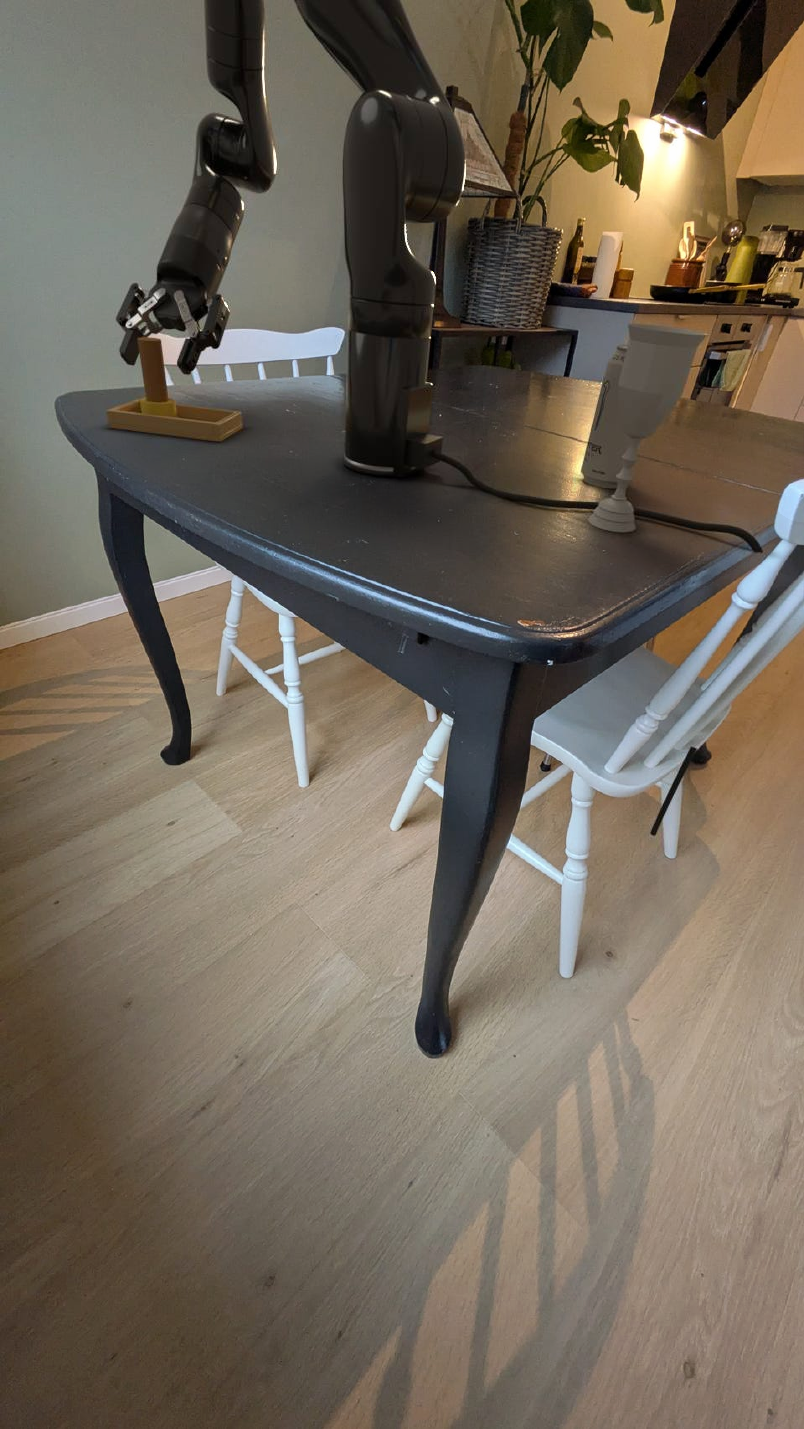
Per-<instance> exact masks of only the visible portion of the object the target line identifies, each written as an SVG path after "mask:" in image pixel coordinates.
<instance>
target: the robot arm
mask: <svg viewBox="0 0 804 1429" xmlns="http://www.w3.org/2000/svg"><path fill="white" fill-rule="evenodd" d="M293 2H294V4H295V7H296V9H297V11H298V14H299V15H300V17H301V19H302V21H303V23H304V24H305V26H306V28H307V30H308V31H309V32H310V34H311V35H312V37H314V39H315V40H316V42H317V43H318V45H320V47H321V48H322V49H323V51H324V52H325V53H326V54H327V55H328V57H329V58H330V59H331V60H332V61H333V62H334V64H336V66H337V67H338V68H339V69H340V70H341V71H342V73H343V74H344V75H345V76H346V77H347V78H348V80H350V82H352V84H353V85H354V86H355V87H356V89H357V90H358V91H359V92H360V93H361V94H360V96H358V98H357V99H356V101H355V102H354V104H353V106H352V109H351V110H350V114H349V116H348V120H347V123H346V127H345V131H344V139H343V147H342V163H341V164H342V166H341V168H342V170H341V171H342V176H341V179H342V180H341V181H342V214H343V215H342V216H343V217H342V221H343V255H344V256H343V258H344V265H345V269H346V274H347V279H348V307H347V308H348V310H347V343H346V344H347V346H346V381H345V419H344V420H345V422H344V453H343V465H345V467H347V468H349V469H351V470H353V471H355V472H359V473H362V474H368V475H373V476H382V477H395V478H398V479H403V478H406V477H408V476H410V475H413V474H414V473H416V472H419V471H421V470H424V469H426V468H429V467H431V466H433V465H435V464H438V463H440V462H443V463H445V464H447V465H449V466H451V467H453V468H455V469H456V470H458V471H459V472H460V473H461V474H462V475H463V476H464V477H465V479H466V480H467V481H468V482H469V483H470V484H471V485H473V486H474V487H476V488H477V489H479V490H481V491H483V492H485V493H488V494H490V495H493V496H496V497H498V498H501V499H504V500H508V501H512V502H513V501H514V502H518V503H524V504H530V505H535V506H541V507H547V508H557V509H558V508H559V509H574V510H575V509H577V510H593V511H594V510H595V509H596V508H597V507H598V506H599V505H598V504H599V503H600V502H601V501H600V502H599V501H581V500H564V499H563V500H562V499H552V498H551V499H550V498H545V497H540V496H539V497H538V496H533V495H526V494H521V493H514V492H510V491H504V490H502V489H498V488H494V487H492V486H490V485H488V484H486V483H484V482H483V481H481V480H479V479H478V478H476V477H475V476H474V475H473V474H472V472H471V471H470V470H469V468H468V467H467V466H465V465H464V464H463V463H461V462H460V461H458V460H457V459H455V458H453V457H451V456H449V455H447V454H444V453H442V449H443V441H444V437H443V436H438V435H435V434H430V433H429V432H430V423H431V412H432V403H433V402H432V401H433V394H434V385H433V383H432V382H428V370H429V361H430V349H431V339H432V337H431V336H432V329H433V320H434V319H433V317H434V307H435V305H434V304H435V299H436V286H437V281H436V276H435V273H434V272H433V271H432V270H431V269H430V268H428V267H427V266H426V265H424V264H423V263H422V262H421V261H420V260H418V259H417V258H416V256H415V255H414V254H413V252H412V251H411V249H410V247H409V245H408V242H407V241H408V240H407V233H406V231H407V229H406V228H407V227H406V223H412V224H432V223H437V222H441V221H442V220H444V219H445V218H446V219H447V217H449V216H450V215H451V214H452V213H453V212H454V210H455V209H456V208H457V206H458V204H459V202H460V199H461V196H462V193H463V191H464V185H465V179H466V167H467V166H466V165H467V164H466V151H465V150H466V149H465V142H464V139H463V135H462V131H461V128H460V125H459V122H458V119H457V117H456V115H455V112H454V110H453V108H452V107H451V105H450V101H448V99H447V97H446V94H445V93H444V91H443V89H442V87H441V85H440V83H439V82H438V79H437V78H436V76H435V74H434V72H433V70H432V68H431V66H430V64H429V62H428V60H427V58H426V57H425V54H424V52H423V49H422V48H421V46H420V44H419V41H418V40H417V37H416V35H415V32H414V31H413V28H412V26H411V23H410V21H409V17H408V15H407V13H406V11H405V8H404V4H403V3H402V0H293ZM203 9H204V11H203V12H204V13H203V14H204V37H205V38H204V40H205V64H206V74H207V80H208V82H209V84H210V86H211V87H212V88H213V89H214V90H215V91H216V92H217V93H219V94H220V95H221V96H223V97H224V98H226V99H227V100H228V101H229V102H231V103H232V104H233V105H234V106H235V107H236V109H237V110H238V113H239V116H240V118H241V120H240V119H237V118H234V117H232V116H229V115H226V114H223V113H220V112H215V111H214V112H209V113H207V114H206V115H204V116H203V117H202V118H201V119H200V121H199V122H198V124H197V127H196V134H195V146H194V147H195V148H194V149H195V151H194V152H195V154H194V165H193V171H192V173H193V174H192V180H191V185H190V189H189V191H188V194H187V195H186V198H185V201H184V204H183V206H182V209H181V210H180V212H179V214H178V216H177V217H176V219H175V220H174V223H173V225H172V228H171V231H170V233H169V235H168V238H167V240H166V243H165V245H164V248H163V250H162V252H161V255H160V258H159V261H158V263H157V265H156V282H155V284H154V285H153V287H151V288H150V290H148V289H142V288H141V286H140V285H139V283H137V282H133V283H132V284H130V286H129V289H128V290H127V293H126V295H125V297H124V300H123V301H122V303H121V306H120V308H119V310H118V313H117V314H116V317H115V321H116V323H117V324H118V325H119V326H120V327H121V329H122V330H123V332H124V333H125V334H124V336H123V337H122V338H123V339H122V342H121V344H120V346H119V355H120V357H121V358H122V360H123V361H124V362H125V363H126V365H128V366H133V367H134V366H135V365H136V363H137V361H138V358H139V356H140V353H139V346H138V340H137V339H138V338H143V337H148V338H149V337H150V336H151V335H153V334H154V335H158V334H159V333H161V332H162V331H163V330H176V331H178V332H182V333H183V332H184V333H185V332H186V331H187V335H188V336H189V338H187V337H185V339H184V340H183V345H182V347H181V350H180V352H179V354H178V357H177V360H176V366H177V367H178V369H179V370H180V372H181V373H182V374H183V375H187V376H190V375H191V373H192V372H193V371H194V370H195V369H196V368H197V366H198V362H199V360H200V357H201V354H202V352H205V351H206V349H207V348H211V349H213V350H217V349H219V348H220V346H221V342H222V340H223V336H224V334H225V330H226V327H227V324H228V321H229V317H230V314H231V310H230V309H229V307H228V305H227V303H226V301H225V299H224V298H223V296H222V294H221V293H218V291H219V289H220V286H221V284H222V282H223V279H224V276H225V273H226V270H227V267H228V266H229V262H230V258H231V254H232V249H233V246H234V244H235V241H236V238H237V236H238V233H239V231H240V228H241V225H242V222H243V219H244V215H245V205H244V200H243V198H242V196H241V194H240V192H239V190H238V189H240V190H243V191H245V192H248V193H251V194H254V195H264V194H265V193H267V192H268V191H269V190H270V189H271V187H272V185H273V184H274V181H275V178H276V175H277V165H278V164H277V162H278V161H277V160H278V159H277V149H276V143H275V138H274V132H273V127H272V122H271V117H270V111H269V104H268V98H267V90H266V80H265V70H266V69H265V65H266V61H265V60H266V59H265V58H266V11H265V1H264V0H203ZM151 313H153V316H154V319H155V320H156V321H152V319H151V318H150V314H151ZM204 317H206V319H205V321H204V324H203V328H202V326H201V323H200V321H201V320H202V319H203V318H204ZM128 318H129V319H128ZM143 323H145V325H144V326H143V327H141V329H140V328H139V326H141V325H142V324H143ZM632 507H633V509H634V511H633V514H634V516H635V517H636V516H637V517H640V518H641V517H642V518H645V519H651V520H655V521H659V522H663V523H666V524H670V525H674V526H679V527H681V528H682V527H683V528H686V529H690V530H694V531H695V530H696V531H702V532H703V531H704V532H714V533H722V534H723V533H724V534H729V535H732V536H735V537H738V538H740V539H741V540H742V541H744V542H745V543H746V544H747V545H748V546H749V547H750V549H751V551H753V552H756V553H759V554H763V553H764V550H763V548H762V546H761V544H760V543H759V541H758V540H757V538H755V536H753V535H752V534H751V533H749V531H747V530H745V529H743V528H741V527H738V526H736V525H735V526H734V525H729V524H723V523H722V524H721V523H710V522H709V523H708V522H700V521H695V520H691V519H686V518H682V517H678V516H674V515H670V514H666V513H661V512H658V511H653V510H648V509H644V508H639V507H634V506H632ZM697 750H698V748H697V747H694V746H690V747H689V749H688V751H687V753H686V755H685V757H684V759H683V761H682V763H681V765H680V767H679V769H678V771H677V774H676V776H675V778H674V779H673V782H672V784H671V786H670V788H669V790H668V792H667V794H666V796H665V799H664V801H663V803H662V805H661V808H660V809H659V811H658V813H657V815H656V818H655V820H654V823H653V825H652V827H651V830H650V832H649V833H650V835H651V836H653V837H655V836H656V835H657V833H658V831H659V828H660V827H661V824H662V822H663V820H664V818H665V815H666V813H667V811H668V809H669V806H670V805H671V802H672V801H673V798H674V797H675V794H676V792H677V790H678V788H679V787H680V784H681V782H682V780H683V778H684V776H685V774H686V772H687V770H688V768H689V766H690V764H691V762H692V760H693V758H694V756H695V754H696V752H697Z"/></svg>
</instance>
